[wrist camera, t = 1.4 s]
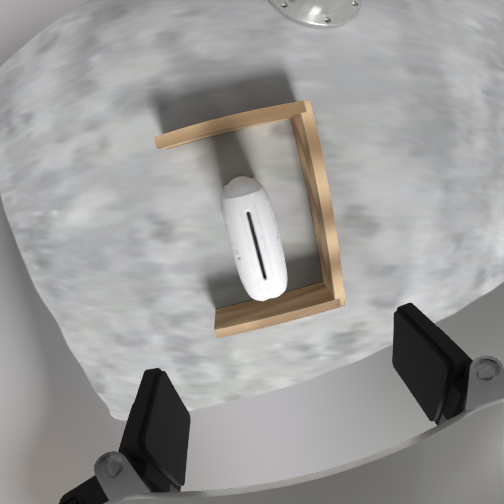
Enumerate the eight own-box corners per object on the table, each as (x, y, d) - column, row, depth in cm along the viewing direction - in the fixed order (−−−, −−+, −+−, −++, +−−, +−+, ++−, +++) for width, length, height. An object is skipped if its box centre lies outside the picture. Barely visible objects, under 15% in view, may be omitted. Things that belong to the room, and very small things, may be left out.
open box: (165, 139, 31) (154, 137, 26) (298, 107, 30) (309, 99, 26) (218, 316, 38) (217, 338, 33) (332, 287, 38) (345, 305, 33)
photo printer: (276, 254, 36) (297, 302, 24) (242, 263, 36) (248, 315, 24) (256, 171, 33) (270, 181, 21) (219, 181, 33) (213, 195, 21)
